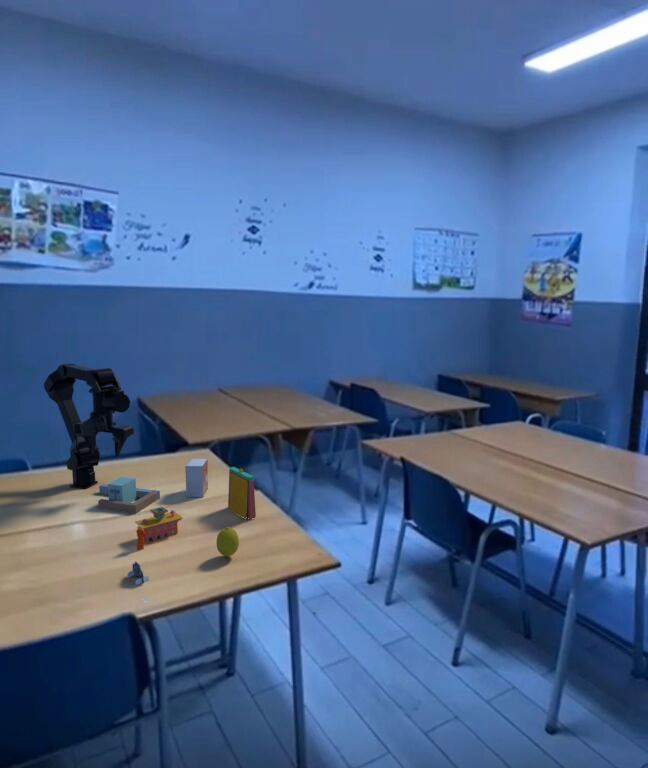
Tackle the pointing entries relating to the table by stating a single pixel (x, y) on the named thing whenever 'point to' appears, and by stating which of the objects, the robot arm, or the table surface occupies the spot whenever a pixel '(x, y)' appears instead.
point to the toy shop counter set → (162, 523)
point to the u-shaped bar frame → (144, 501)
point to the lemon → (227, 541)
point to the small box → (196, 477)
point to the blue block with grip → (122, 490)
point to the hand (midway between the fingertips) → (104, 455)
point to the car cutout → (138, 576)
